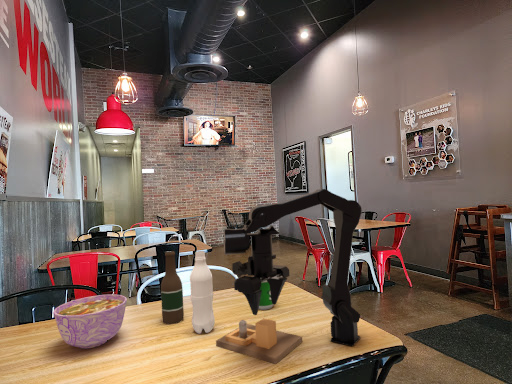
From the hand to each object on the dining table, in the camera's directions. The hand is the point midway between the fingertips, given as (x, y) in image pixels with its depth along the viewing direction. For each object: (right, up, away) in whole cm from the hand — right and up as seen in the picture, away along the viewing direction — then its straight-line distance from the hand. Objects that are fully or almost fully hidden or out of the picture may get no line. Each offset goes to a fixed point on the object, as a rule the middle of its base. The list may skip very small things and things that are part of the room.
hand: (265, 309), depth 87 cm
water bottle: (-19, -13, +15) cm, 27 cm away
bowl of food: (-52, -14, +11) cm, 55 cm away
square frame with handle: (-3, -10, +3) cm, 11 cm away
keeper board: (-2, -11, +4) cm, 12 cm away
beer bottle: (-32, -13, +25) cm, 43 cm away
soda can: (+1, -12, +34) cm, 36 cm away
